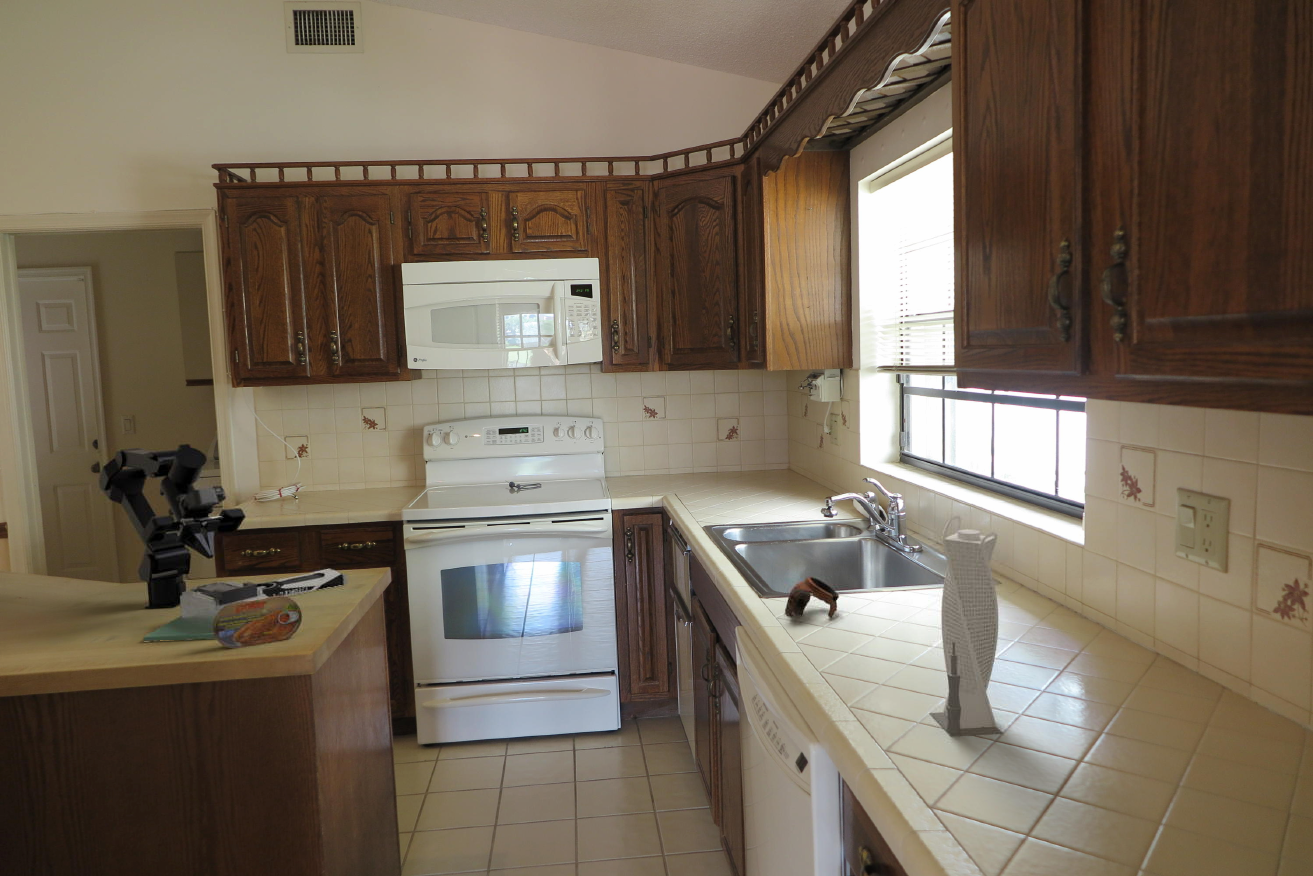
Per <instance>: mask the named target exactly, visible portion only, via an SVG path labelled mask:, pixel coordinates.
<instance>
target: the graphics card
mask: <svg viewBox="0 0 1313 876" xmlns="http://www.w3.org/2000/svg"><path fill="white" fill-rule="evenodd" d="M256 584H257V588H258V589H262V593H263V594H265V595H266V597H272V596H289V595H293V594H299V595H301V594H300V593H304V592H309V591H313V590H318V589H323V588H327V587H332V588H335V587H334V586H337V587H339V586H338V585H342V586H346V585H345V584H348V574H347V573H346V574H343V573H342V572H340V571H337V570H335V569H333V568H330V567H329V568H327V569H321V570H316V571H312V572H311V573H306V574H300V575H297V576H296V575H295V576H291V577H286V578H285V577H284V578H281V579H276V580H272V581H271V580H270V581H267V582H258V583H257V582H256ZM327 589H328V588H327ZM323 590H324V589H323ZM318 591H319V590H318ZM309 593H310V592H309ZM304 594H305V593H304ZM289 597H290V596H289Z"/></svg>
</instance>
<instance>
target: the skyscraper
mask: <svg viewBox="0 0 1313 876" xmlns="http://www.w3.org/2000/svg"><path fill="white" fill-rule="evenodd" d="M953 521H957V522H956V528H955V529H956V530H955V533H954V534H952V535H949V536H947V533H948V530H949V527H950V525H951V524H952V523H953ZM961 522H962V518H961V516H960V515H954V516H953V517H951V518H950V519H949V520H948V521H947V523H946V524H945V526H944V528H943V531H942V536H941V543H942V546H943V551H944V554H945V560H946V563H947V567H946V570H945V575H944V581H943V582H944V583H943V588H942V597H941V614H940V616H941V621H940V622H941V624H940V625H941V638H942V640H941V641H942V648H943V655H944V656H943V657H944V664H945V669H946V670H945V671H946V674H947V675H946V676H947V681H948V682H947V683H948V684H947V685H948V693H947V696H946V700H945V704H944V707H943V711H941V712H930V713H929V715H930V716H931V717H932V719H933V720H934V721H936V722H937V724H938V725H939V726H940V727H941V728H942V729H943V730H944V731H945V732H946V733H947V735H948V736H949V737H967V736H983V735H987V736H988V735H1000V734H1002V735H1003V733H1004V732H1003V731H1002V730H1000V729H999V727H998V726H997V723H996V720H995V716H994V713H993V710H992V706H991V704H990V700H989V697H988V693H987V691H988V686H989V684H990V680H991V676H992V672H993V668H994V663H995V658H996V652H997V645H998V639H999V608H998V607H999V604H998V596H997V590H996V585H995V581H994V576H993V572H992V568H991V564H990V563H991V559H992V555H993V552H994V549H995V547H996V546H995V545H996V543H997V540H998V534H997V532H995V531H992V532H990V533H988V534H986V535H981V532H980V530H977V529H966V528H965V529H964V528H963V529H960V528H961Z"/></svg>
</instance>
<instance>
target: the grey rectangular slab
mask: <svg viewBox="0 0 1313 876" xmlns="http://www.w3.org/2000/svg"><path fill="white" fill-rule="evenodd" d="M218 583H219V582H213V583H212V582H211V583H208V584H204V585H203V584H202V585H200V586H199V585H198V586H196V589H197V592H201V593H205V594H209V595H213V596H214V592H213V590H215V589H222V590H230V589H235V588H236V587H231V586H227V585H225V584H224V585H222V584H218Z"/></svg>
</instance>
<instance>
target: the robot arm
mask: <svg viewBox="0 0 1313 876" xmlns="http://www.w3.org/2000/svg"><path fill="white" fill-rule="evenodd" d="M206 463H207V456H206V454H205V453H204V452H202V451H201V450H199V449H197V448H194V447H191V444H190V443H185V444H179V445H178V447H177V449H169V450H157V451H154V450H153V451H152V450H146V449H143V448H139V447H136V448H125V449H124V448H123V449H120V450H118V451H116V453H115V455H114V457H113V458H112V459H111V460H110V461H109V462H107V463H106V464H105V465H104V466H103V467H102V469H101V472H100V475H99V478H98V485H99V488H100V490H101V491H103V493H104V494H105V495H106V497H107V498H108V499H109V501H112V502H115V503H117V504H119V505H121V506H122V508H123V510H124V512H125V513H126V515H127V517H128V518H129V520H130V522H131V524H132V525H133V527H134V529H135V532H136V533H137V534H138V535H139V538H140V540H141V542H142V544H143V545H144V546H145V548H144V552H143V556H142V560H141V562H140V565H139V568H138V575H139V580H140V581H142V582H143V581H144V582H146V584H147V585H146V586H147V599H148V604H146V605H144V608H145V609H155V608H175V607H177V606H179V605H181V602H180V596H182V595H183V594H182V592H185V591H186V592H187V583H186V580H184V575H190V569H191V559H192V554H191V552H190V549H189V548H191V549H193V550H194V551H195V552H196V553H199V554H200V555H202V556H204V557H205V558H206V559H213V558H214V555H215V551H214V549H215V548H214V547H215V546H214V541H215V540H214V539H215V538H214V537H215V533H216V532H217V533H218V534H220V535H223V534H224V535H226V534H232V533H233V534H234V533H235V532H237V531H238V529H239V528H240V526H241V525H242V523H243V521H244V520H245V518H246V515H245V512H244V510H243V509H242V508H239V507H234V508H226V509H222V510H221V511H220V513H219V515H217V516H209V515H211V514H212V513H213V512H214V508H213V507H214V506H216V505H219V504H220V503H222V502H223V501H225V500H226V498H227V494H226V492H225V489H224V488H223V487H222V485H214V486H213V487H211V488H203V489H196V487H195V485H194V484H195V483H197V481H199V478H200V476H201V474H202V471H203V469H204V467H205V465H206ZM125 467H126V468H125ZM148 477H150V478H151V479H160V478H163V479H161V482H160V485H159V486H160V489H159V496H164V497H165V500H166V502H167V504H168V506H169V509H168V511H167V512H168V514H167V515H160V516H159V515H157V514H156V512H155V511H154V509H153V508H152V505H151V504H150V503H149V501H148V499H147V497H146V496H145V493H144V487H145V483H146V480H147V478H148ZM175 520H176V521H175Z"/></svg>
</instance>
